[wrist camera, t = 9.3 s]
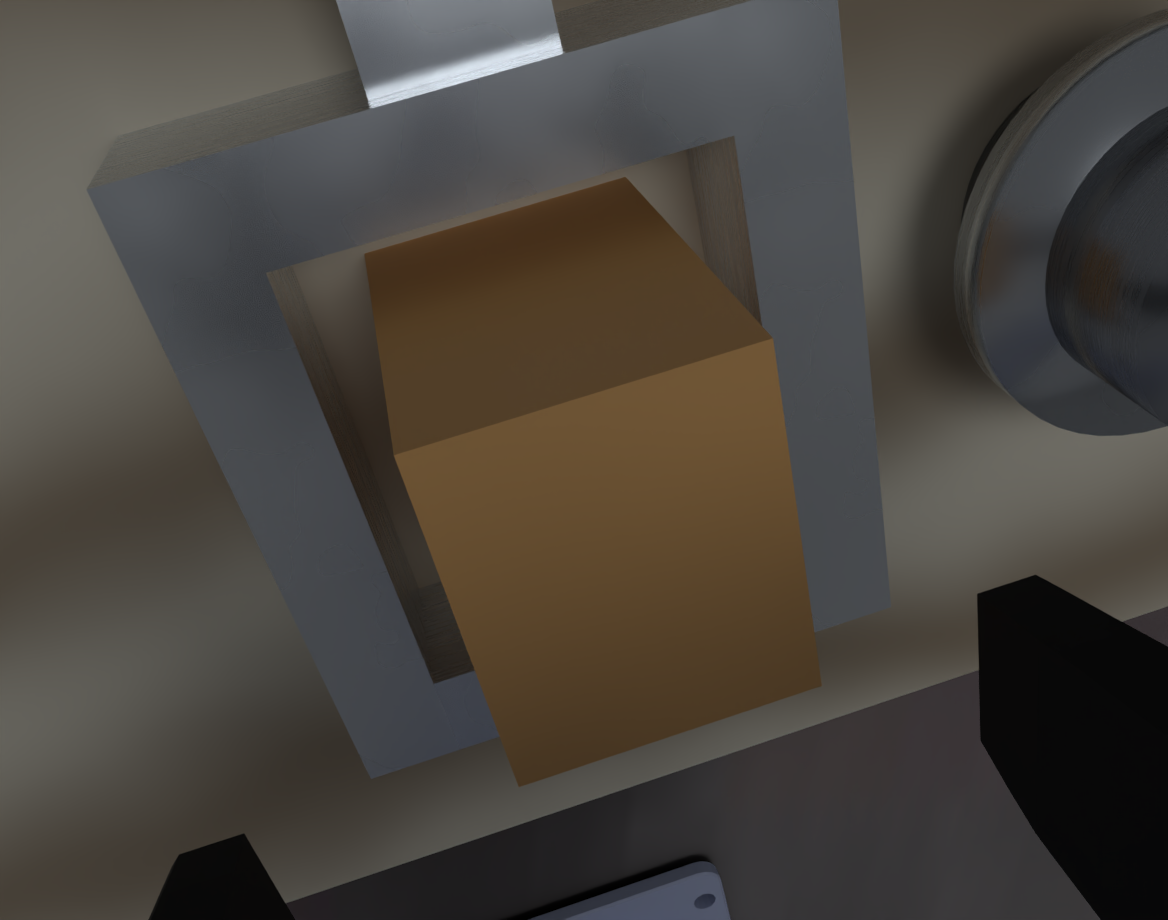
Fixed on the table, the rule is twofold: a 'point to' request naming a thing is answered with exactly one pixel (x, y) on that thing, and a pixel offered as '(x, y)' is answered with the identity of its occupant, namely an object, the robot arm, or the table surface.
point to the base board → (346, 327)
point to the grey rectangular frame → (731, 250)
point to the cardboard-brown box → (595, 474)
